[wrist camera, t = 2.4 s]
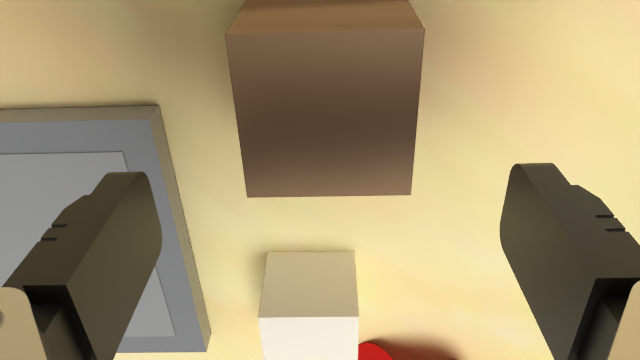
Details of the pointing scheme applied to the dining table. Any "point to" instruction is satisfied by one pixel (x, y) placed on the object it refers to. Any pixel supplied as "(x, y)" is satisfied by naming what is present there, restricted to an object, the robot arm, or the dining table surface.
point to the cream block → (309, 306)
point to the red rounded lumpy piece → (372, 352)
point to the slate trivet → (81, 179)
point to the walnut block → (326, 96)
